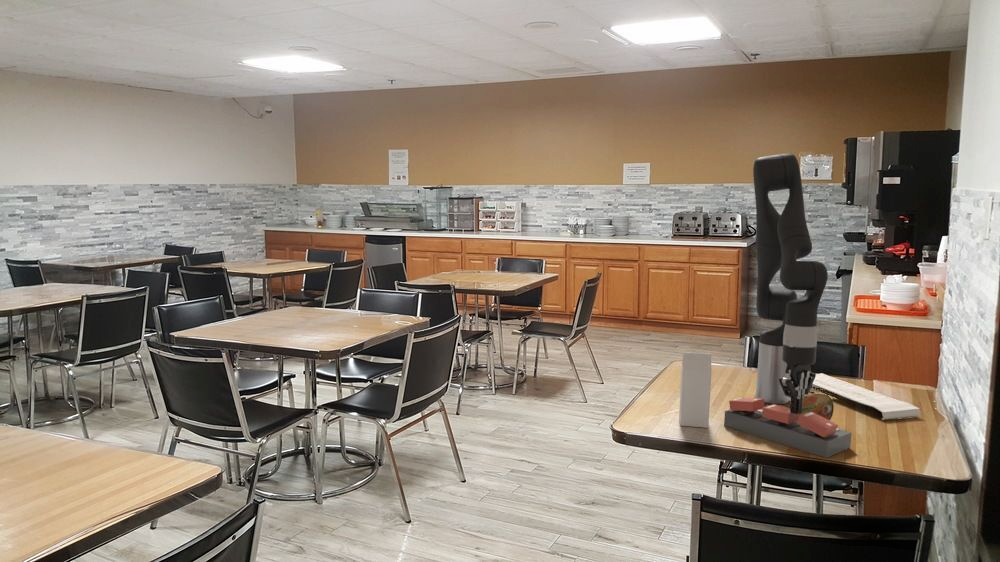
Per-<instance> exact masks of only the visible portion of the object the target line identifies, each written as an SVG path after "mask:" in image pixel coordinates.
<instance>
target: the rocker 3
mask: <svg viewBox="0 0 1000 562" xmlns="http://www.w3.org/2000/svg"><path fill="white" fill-rule="evenodd" d="M797 424H799V425H801V426H803V427H804V428H806V429H808V430H810V431H812V432H814V433H816V434H818V435H820V436H822V437H827V436H830V435H832V434H835V432H836V429H837V428H838V425H839V424H838V423H836V422H833V421H832V420H831V419H830V420H828V419H826V418H824V417H822V416H820V415H818V414H815V413H813V412H811V411H810V412H807V413H804V414H801V415H800V416H799V420H798V423H797Z"/></svg>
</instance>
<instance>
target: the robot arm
mask: <svg viewBox="0 0 1000 562" xmlns="http://www.w3.org/2000/svg"><path fill="white" fill-rule="evenodd" d="M752 171H753V172H752V173H753V174H752V175H753V186H754V187H753V188H754V197H755V198H754V199H755V209H756V210H755V211H756V212H755V213H756V216H755V217H756V220H755V221H756V223H755V224H756V225H755V227H756V229H755V231H756V232H755V233H756V235H755V237H756V238H755V241H756V242H755V244H756V245H755V246H756V262H757V284H756V285H757V287H756V301H755V302H756V303H755V304H756V313H757V314H756V315H757V316H758V318H760V319H764V320H769V321H771V320H772V321H777V322H778V321H780V322H781V321H782V324H781V325H779V326H778V327H776V328H775V327H774V328H771V329H768V330H766V329H765V330H763V331H761V332H760V334H759V342H758V359H757V361H758V362H757V372H756V387H755V398H761V399H764V403H765V404H770V405H773V404H775V405H784V404H785V405H786V404H788V403H789V402H790V403H789V405H790V412H791V413H794V414H800V413H801V412H802V398H804V396H806V395H809V393H810V392H809V391H810V388H811V386H812V385H813V381H814V379H815V377H816V374H817V373H815V372H812V371H811V368H812V367H811V365H814V364H816V361H817V360H816V359H817V346H818V345H817V343H818V330H817V324H818V323H817V322H818V309H819V306H820V302H821V300H822V299H821V298H822V297H823V294H824V290H825V288H826V286H827V283H828V282H827V281H828V277H829V276H828V274H829V273H828V269H827V267H826V266H825V264H824V263H823V262H821V261H816V260H801V259H803V258H806V257H807V256H809V255H810V254H811V253H812V251H813V243H812V240H811V237H810V236H811V235H810V233H809V228H808V225H807V221H806V213H805V201H804V200H805V199H804V192H803V184H802V183H803V182H802V175H801V167H800V164H799V160H798V158H797V156H796V155H795V154H793V153H780V154H774V155H768V156H767V155H765V156H760V157H758V158H756V159H755V160H754V163H753V168H752ZM782 190H783V191H784V190H789V191H788V192H789V195H788V199H787V201H786V204H785V206H784V208H783V210H782V212H781V214H780V213H779V212H778V211H777V210H776V208H775V207H774V205H773V204H772V202H771V200H770V197H769V192H774V191H776V192H777V191H782ZM799 259H800V260H799ZM779 271H780V272H779ZM778 272H779V281H780V284H781V285H782V286H783V287H784V288H772V287H770V285H771V282H772V281H773V279H774V277H775V276H776V275H777V273H778ZM796 291H805V293H804V295H803V296H802V297H799V298H798V296H797V292H796Z"/></svg>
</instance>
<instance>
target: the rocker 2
mask: <svg viewBox="0 0 1000 562" xmlns="http://www.w3.org/2000/svg"><path fill="white" fill-rule="evenodd" d="M762 417H765V418H768V419H772V420H776V421H779V422H783V423H786V424H789V423H792V422H795V421H798V420H799V414H794V413H791V412H790V408H788V407H787V406H782V405H780V404H770V405H767V406H766V405H765V407H763V411H762Z"/></svg>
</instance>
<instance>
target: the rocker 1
mask: <svg viewBox="0 0 1000 562" xmlns="http://www.w3.org/2000/svg"><path fill="white" fill-rule="evenodd" d="M728 402H729V410H740V411H756V410H760V409H763V407H766V405H765V404H766V403H765V402H764V399H761V398H756V397H738V398H735V399H731V400H729V401H728Z"/></svg>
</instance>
